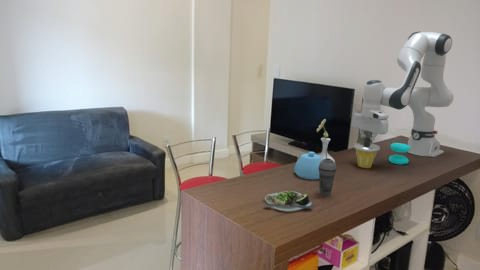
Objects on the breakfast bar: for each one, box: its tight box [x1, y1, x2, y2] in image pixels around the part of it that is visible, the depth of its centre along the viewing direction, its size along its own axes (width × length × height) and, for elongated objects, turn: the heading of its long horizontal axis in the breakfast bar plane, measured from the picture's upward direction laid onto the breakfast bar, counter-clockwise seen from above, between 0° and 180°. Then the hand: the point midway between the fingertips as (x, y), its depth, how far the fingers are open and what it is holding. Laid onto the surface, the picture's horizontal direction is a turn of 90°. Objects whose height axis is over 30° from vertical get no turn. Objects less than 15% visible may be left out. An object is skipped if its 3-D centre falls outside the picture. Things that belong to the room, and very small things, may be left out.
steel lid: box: [353, 138, 381, 152], centre depth 187 cm, size 13×13×5 cm
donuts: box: [388, 142, 410, 166], centre depth 197 cm, size 10×10×10 cm
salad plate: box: [264, 190, 314, 213], centre depth 142 cm, size 19×18×5 cm
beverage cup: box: [318, 147, 337, 197], centre depth 151 cm, size 7×7×20 cm
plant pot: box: [355, 149, 378, 169], centre depth 189 cm, size 10×10×10 cm
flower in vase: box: [316, 118, 336, 163], centre depth 188 cm, size 13×11×25 cm
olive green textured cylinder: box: [356, 97, 374, 144], centre depth 212 cm, size 9×12×35 cm
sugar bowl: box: [293, 151, 322, 181], centre depth 174 cm, size 15×15×12 cm
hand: (367, 139), depth 187 cm, fingers open, 5 cm apart
